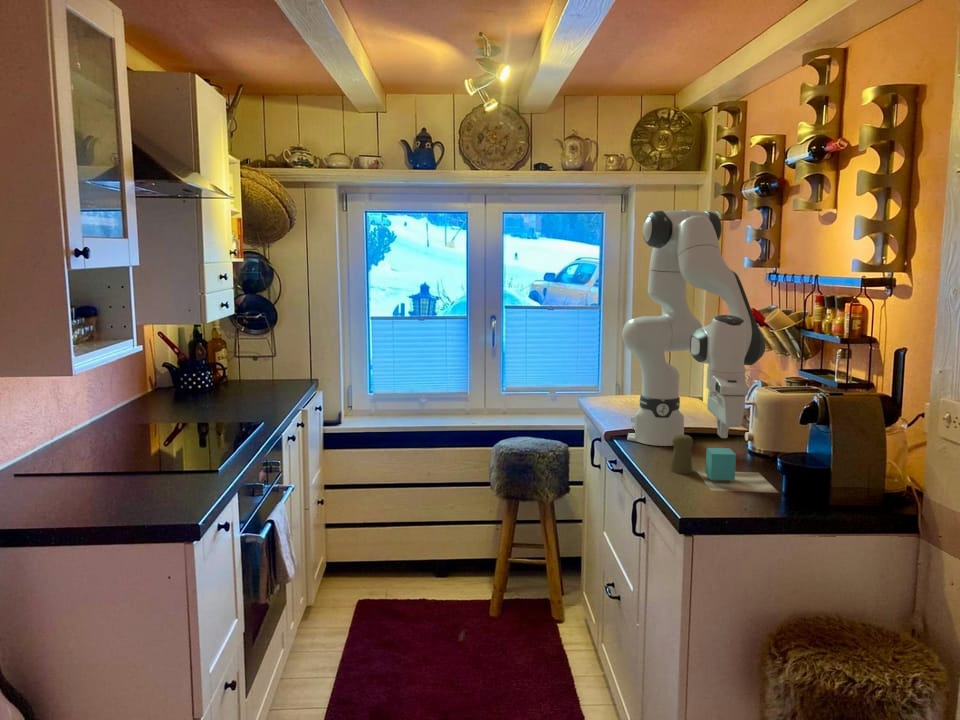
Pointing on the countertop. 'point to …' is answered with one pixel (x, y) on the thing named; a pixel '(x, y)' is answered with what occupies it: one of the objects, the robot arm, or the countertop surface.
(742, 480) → the stand
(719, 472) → the teal rounded cube
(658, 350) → the robot arm
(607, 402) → the countertop surface
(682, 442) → the cork
